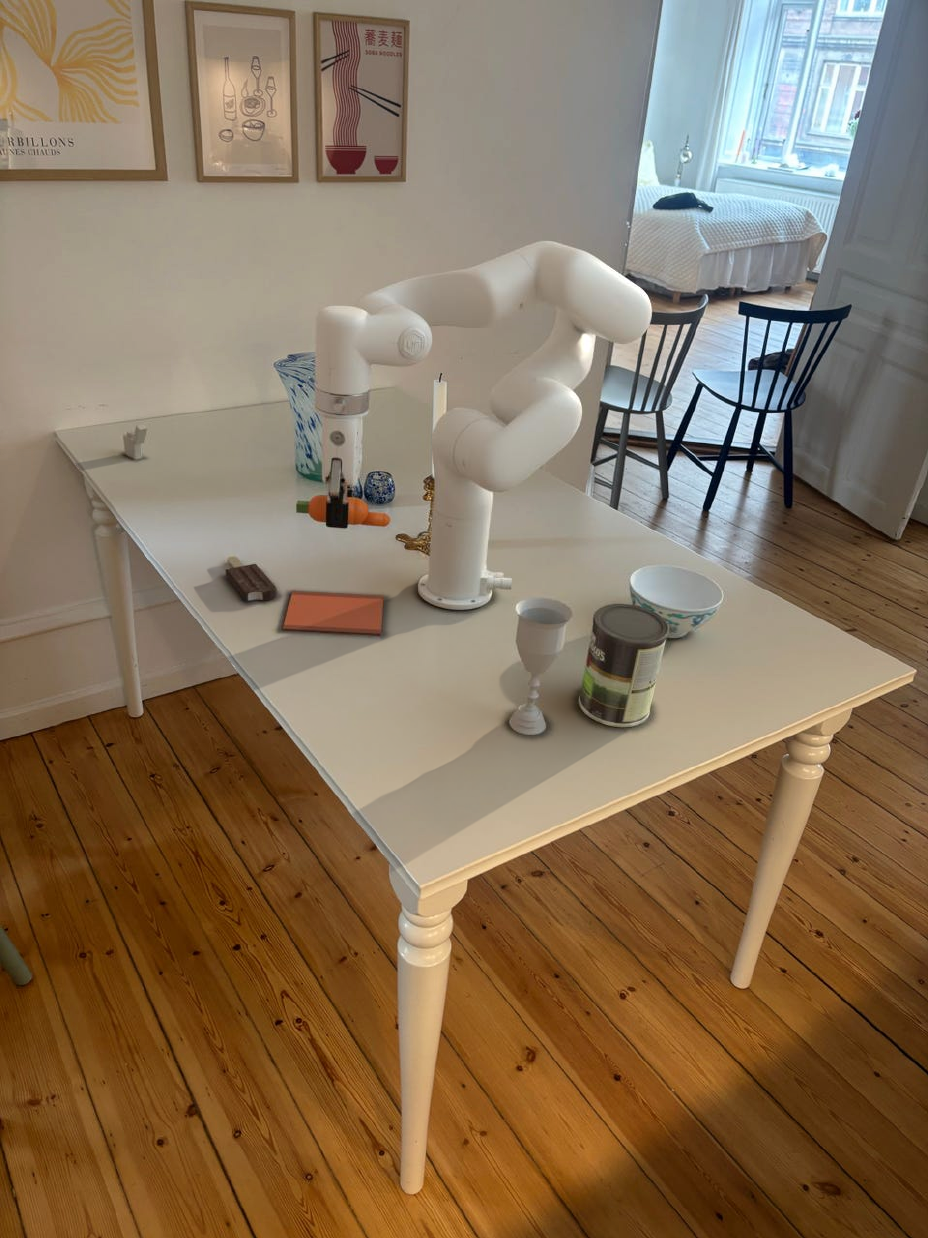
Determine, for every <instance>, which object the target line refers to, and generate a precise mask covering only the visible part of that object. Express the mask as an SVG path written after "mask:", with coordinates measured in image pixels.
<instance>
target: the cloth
mask: <svg viewBox="0 0 928 1238" xmlns="http://www.w3.org/2000/svg"><path fill="white" fill-rule="evenodd" d="M383 607H384V595H379V594H377V595H376V594H359V593H358V594H357V593H343V592H342V593H339V592H323V591H321V592H320V591H302V590H292V591H291V595H290V599H289V603H288V607H287V611H286V615H285V619H284V623H283V627H282V631H289V632H290V631H291V632H307V633H308V632H309V633H327V634H329V633H330V634H346V635H349V634H350V635H351V634H352V635H366V636H367V635H369V636H381V635H382V634H381V633H382V621H383V609H384V608H383Z"/></svg>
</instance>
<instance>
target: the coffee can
mask: <svg viewBox="0 0 928 1238" xmlns="http://www.w3.org/2000/svg"><path fill="white" fill-rule="evenodd" d="M668 634H669V626H668V623H667V622H666V620H665V619H664V618H663V617H661V616H660V615H659V614H657V613H655V612H653V611H651V610H649V609H647V608H644V607H641V606H637V605H633V604H631V603H611V604H607V605H604V606H602V607H601V606H600V607H599V608H598V609H597V610H596V611H595V612H594V613H593V615H592V627H591V633H590V639H589V644H588V649H587V656H586V661H585V665H584V671H583V677H582V682H581V688H580V693H579V696H578V705H579V708H580V710H581V711H582V712H583V713H584V715H586V716H587V717H588V718H589V719H591V720H592V721H593V720H594V721H595V722H597V723H598V724H599V723H600V724H602V725H605V726H608V727H614V728H632V727H635V726H639V725H641V724H642V723H645V722H646V721H647V719H648V718H649V715H650V712H651V711H650V710H651V705H652V701H653V698H654V697H653V696H654V692H655V690H656V684H657V679H658V675H659V671H660V667H661V663H662V659H663V654H664V650H665V645H666V641H667V638H668V637H667V636H668Z"/></svg>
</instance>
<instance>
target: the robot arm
mask: <svg viewBox="0 0 928 1238" xmlns="http://www.w3.org/2000/svg"><path fill="white" fill-rule="evenodd" d="M544 305H546V306H547V305H548V306H550V307H553V308H554V309H556V311H555V312H556V313H555V320H554V324H553V328H552V330H551V333H550V335H549V337H548V338H547V340H546V341H545V342H544V343H543V344H542V345H540V347H538V348H537V349H536V350H535V351H534V352H533V353H532V354H531V355H529V356H528V357H527V358H525V359H523V360H522V361H521V362H520V363H519V364H517V366H515V367H514V368H513V369H511V371H509V372H508V373H506V375H504V376H503V377H502V378H501V379H499V381H498V382H497V383H496V384H495V385H493V388H492V389H491V391H490V394H489V398H488V405H489V409H490V411H491V413H492V415H493V416H494V417H495V418H496V419H497V420H498V421H499V422H500V423H499V422H498V421H496V420H495V419H494V418H492V417H490V416H489V415H487V414H484V413H483V412H481V411H479V410H477V409H474V408H471V407H463V406H462V407H454V408H452V409H449V410H448V411H446V412H445V413H443V414H442V415H441V416H440V418H439V419H438V420H437V422H436V423H435V425H434V428H433V432H432V437H431V453H432V454H431V455H432V462H433V463H432V464H433V472H434V473H433V475H434V486H433V487H434V489H433V503H432V515H431V527H430V528H431V529H430V544H429V556H428V571H427V573H426V574H424V575H422V576H421V578H420V579H419V580H418V584H417V592H418V594H419V596H420V597H421V598H422V599H423V600H424V601H426V602H427V603H429V604H431V605H433V606H435V607H438V608H442V609H447V610H452V611H454V610H455V611H465V610H473V609H478V608H479V607H482V606H485V605H486V604H487V603H489V601H491V599H492V596H493V589H499V590H509V591H510V590H512V587H513V579H512V578H511V577H504V572H500V571H499V572H498V571H496V572H494V571H493V572H492V571H490V570H488V567H487V556H488V548H489V538H490V537H489V536H490V528H491V519H492V512H493V504H494V503H493V502H494V493H504V492H507V491H510V490H511V489H514V488H515V487H517V486H519V485H520V484H521V483H522V482H524V481H525V480H526V479H528V478H529V477H530V476H531V475H532V474H534V473H535V472H536V471H538V469H540V468H541V467H542V466H543V465H545V464H546V463H547V462H548V461H550V460H551V459H552V458H553V457H554V456H555V455H556V454H558V453H559V452H560V451H561V450H562V449H564V448H565V447H566V446H567V445H568V444H569V443H570V441H572V439H573V438H574V436H575V434H576V433H577V432H578V430H579V427H580V424H581V421H582V416H583V406H582V403H581V400H580V398H579V396H578V395H577V394H576V392H575V391H574V390H575V389H576V388H577V387H579V385H580V384H581V383H582V382H583V381H585V379H586V378H587V376H588V374H589V373H590V371H591V367H592V363H593V359H594V354H595V353H594V352H595V345H596V336H597V337H599V338H601V339H604V340H606V341H608V342H611V343H613V344H618V345H627V344H630V343H634V342H635V341H638V340H639V339H640V338H641V337H642V336H643V335H644V334H645V333H646V331H647V330H648V328H649V326H650V325H651V321H652V316H653V315H652V314H653V310H652V309H653V307H652V303H651V300H650V298H649V296H648V294H647V293H646V292H645V290H644V289H642V288H641V287H640V286H638V284H636V283H634V282H633V281H631V280H630V279H628V278H627V277H625V275H622V274H621V273H619V272H617V270H615V269H614V268H612V267H610V266H609V265H608V264H606V263H605V262H604V261H602V260H601V259H599V258H598V257H596V256H595V255H593V254H591V253H590V252H587V251H585V250H582V249H580V248H576V247H573V246H570V245H566V244H563V243H560V242H556V241H552V240H540V241H536V242H533V243H530V244H528V245H525V246H522V247H520V248H516V249H515V250H512V251H510V252H507V253H505V254H502V255H499V256H497V257H495V258H493V259H489V260H486V261H485V262H482V263H479V264H476V265H474V266H471V267H469V268H464V269H458V270H457V269H456V270H449V271H443V272H440V273H433V274H428V275H421V276H415V277H412V278H407V279H404V280H401V281H397V282H395V283H393V284H389V285H387V286H385V287H382V288H379V289H377V290H375V291H372V292H370V293H368V294H367V295H365V296H363V297H362V298H361V299H359V300H358V301H357V302H356V303H355V304H354V306H350V305H329V306H325V307H323V308H321V309H320V310H319V311H318V312H317V314H316V316H315V317H316V318H315V346H314V347H315V352H314V354H315V355H314V357H315V360H314V361H315V363H314V366H315V367H314V412H316V413H317V414H319V415H320V416H322V421H321V422H322V423H321V425H322V426H321V427H322V428H321V480H322V482H323V484H325V485H327V491H326V492H327V493H326V495H327V501H326V522H325V527H327V528H333V529H344V530H345V529H347V528H348V527H349V524H348V511H349V502H347V497H352V498H353V489H352V488H354V487H355V486H356V485H357V484H358V482H359V479H360V475H361V471H362V465H363V456H362V455H363V417H365V416H367V415H368V414H369V413H370V391H371V390H370V388H371V369H372V365H378V366H380V365H381V366H388V367H399V368H400V367H401V368H405V367H411V366H414V365H417V364H418V363H420V362H422V361H423V360H424V359H425V358H426V357H427V356H428V355H429V353H430V351H431V349H432V346H433V333H432V330H431V327H442V326H443V327H456V328H464V329H465V328H466V329H482V328H483V329H484V328H490V327H494V326H495V325H498V324H500V323H502V322H504V321H507V320H509V319H511V318H513V317H516V316H518V315H521V314H524V313H526V312H528V311H530V310H534V309H536V308H538V307H540V306H544ZM501 423H502V424H501Z"/></svg>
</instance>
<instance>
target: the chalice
mask: <svg viewBox="0 0 928 1238" xmlns="http://www.w3.org/2000/svg"><path fill="white" fill-rule="evenodd" d="M515 611H516V613H517V616H518V621H517V628H516V636H515V644H516V649H517V652H518V655H519V658H520V660H521V662H522V664H523V667H524V669H525V671H526V672H528V673H530V678H529V680H528V681H527V683H526V684H527V685H528V690H527V691H526V692H525V693H524V695H525V697H526V699H527V700H526V701H527V702H526V703H525V704H522V705H520V706H518V707H517V708H516V709H515V711H514V713H513V714H512V715H511V717H510V718H509V721H508V723H509V726H510V728H511V729H512V730H514V731H515V732H516V733H519V734H522V735H525V736H535V735H539V734H542V733H543V732H544V731H546V729H547V723H546V721H545V717H544V715H543V711H542V710H541V709H540V707H538V706H537V705H535V701H536V699H537V698H539V693H538V692H537V688H538V687H539V686H540V684H541V683H540V681H539V676H540V675H542V674H544V673H546V672H547V671H548V669H549V668H550V667H551V666H552V665H553V664H554V662H555V661H556V659H557V658H558V657H559V655H560V653H561V652H562V650H563V648H564V644H565V638H566V631H567V624H568V622H569V621H570V620H571V619H572V618H573V611H572V608H571V607H569V606H568V605H567V604H566V603H563V602H561V601H559V600H556V599H552V598H547V597H530V598H525V599H523V600H521V601H518V603H517V604H516V606H515Z"/></svg>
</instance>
